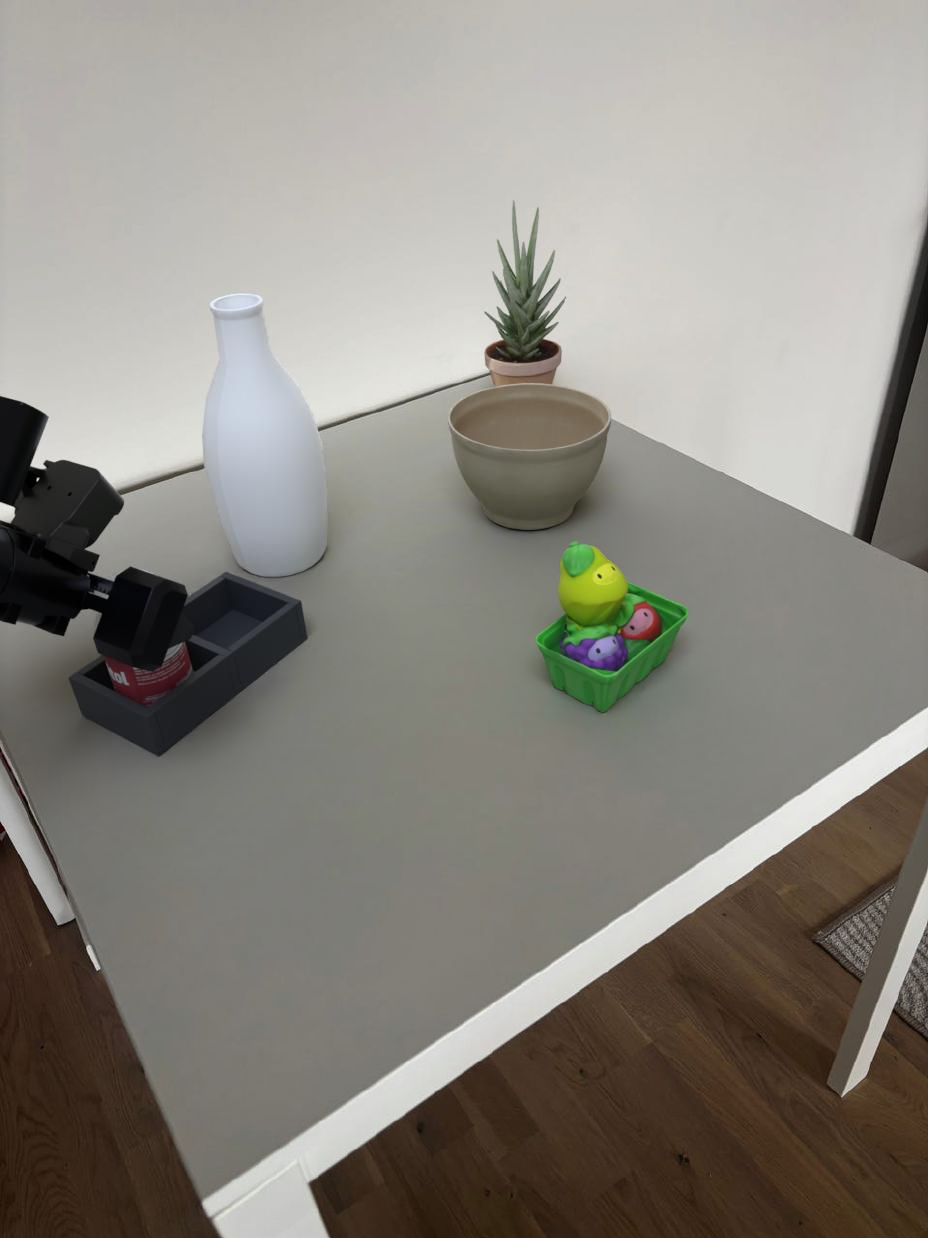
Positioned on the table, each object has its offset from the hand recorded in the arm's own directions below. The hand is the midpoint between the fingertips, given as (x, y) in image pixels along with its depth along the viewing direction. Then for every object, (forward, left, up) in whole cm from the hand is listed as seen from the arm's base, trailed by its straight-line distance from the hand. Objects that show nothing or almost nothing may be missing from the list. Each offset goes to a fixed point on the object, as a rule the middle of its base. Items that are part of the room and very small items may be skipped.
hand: (147, 615), depth 75 cm
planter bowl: (+41, -10, -8) cm, 43 cm away
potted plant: (+63, +4, -8) cm, 64 cm away
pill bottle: (-1, 0, -8) cm, 8 cm away
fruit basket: (+21, -29, -8) cm, 37 cm away
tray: (+3, 0, -8) cm, 9 cm away
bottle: (+21, +7, -8) cm, 24 cm away
